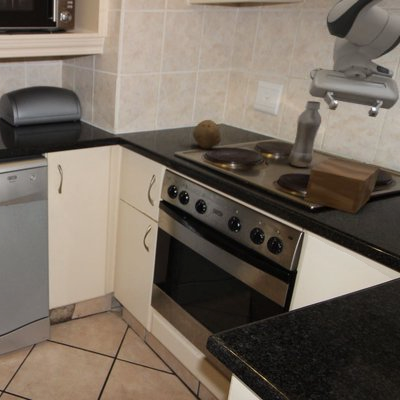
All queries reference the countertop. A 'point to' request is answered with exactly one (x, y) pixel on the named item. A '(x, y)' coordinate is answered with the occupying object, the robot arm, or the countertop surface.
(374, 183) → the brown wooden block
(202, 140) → the brown coconut
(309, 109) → the plastic bottle
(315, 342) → the countertop surface
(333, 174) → the wooden block
